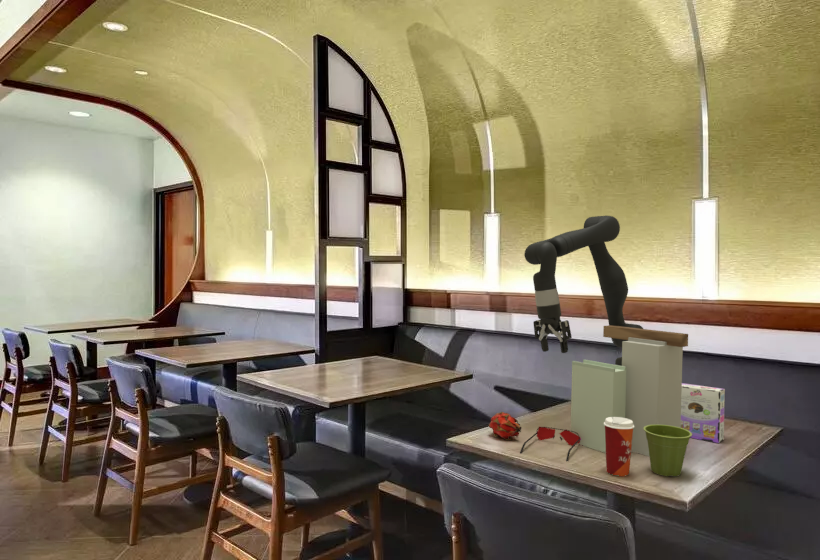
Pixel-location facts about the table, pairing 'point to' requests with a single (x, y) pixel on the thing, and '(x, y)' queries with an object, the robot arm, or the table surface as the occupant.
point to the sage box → (596, 400)
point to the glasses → (550, 433)
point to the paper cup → (618, 445)
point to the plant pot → (667, 448)
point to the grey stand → (651, 386)
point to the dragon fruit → (504, 425)
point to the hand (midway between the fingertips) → (555, 351)
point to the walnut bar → (646, 335)
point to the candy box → (703, 412)
